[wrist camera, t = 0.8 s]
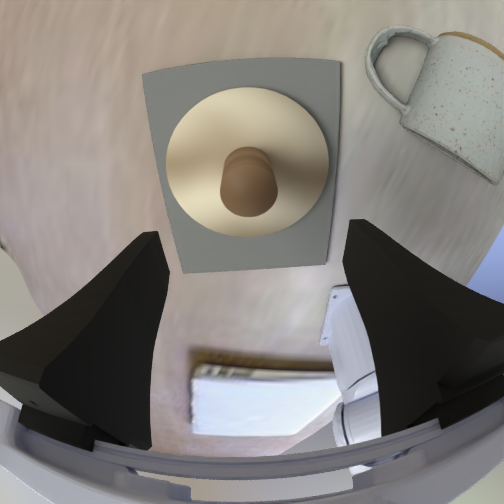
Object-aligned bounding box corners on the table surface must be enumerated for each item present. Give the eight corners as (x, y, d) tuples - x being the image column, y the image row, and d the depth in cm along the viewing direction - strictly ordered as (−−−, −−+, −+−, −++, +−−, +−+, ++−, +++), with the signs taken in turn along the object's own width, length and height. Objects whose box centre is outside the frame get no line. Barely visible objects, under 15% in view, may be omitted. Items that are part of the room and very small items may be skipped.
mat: (324, 261, 23) (325, 264, 23) (183, 270, 23) (183, 273, 23) (337, 61, 13) (339, 61, 13) (144, 74, 14) (141, 74, 13)
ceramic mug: (480, 76, 12) (549, 100, 6) (450, 157, 17) (511, 204, 11) (375, 2, 11) (443, -18, 4) (341, 101, 15) (398, 127, 9)
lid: (320, 227, 21) (335, 262, 17) (183, 235, 21) (173, 273, 17) (327, 86, 14) (352, 94, 11) (157, 97, 14) (133, 108, 11)
